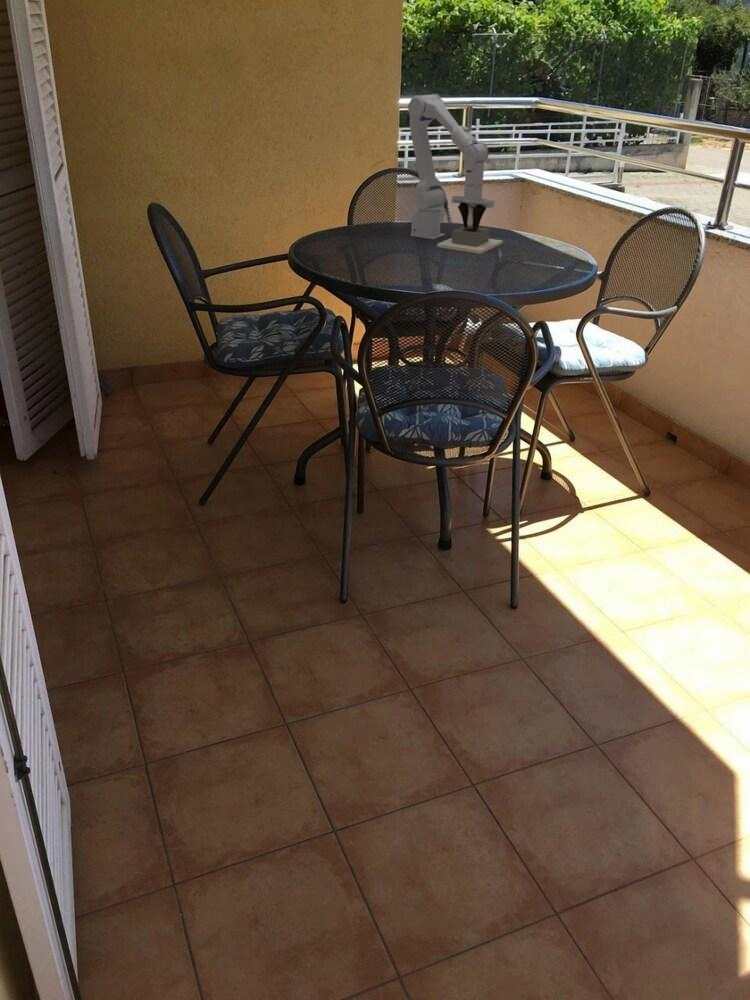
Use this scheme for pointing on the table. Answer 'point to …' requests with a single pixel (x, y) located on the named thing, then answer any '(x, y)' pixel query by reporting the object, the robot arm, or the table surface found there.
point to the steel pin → (470, 218)
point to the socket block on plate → (470, 241)
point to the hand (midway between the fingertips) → (471, 227)
